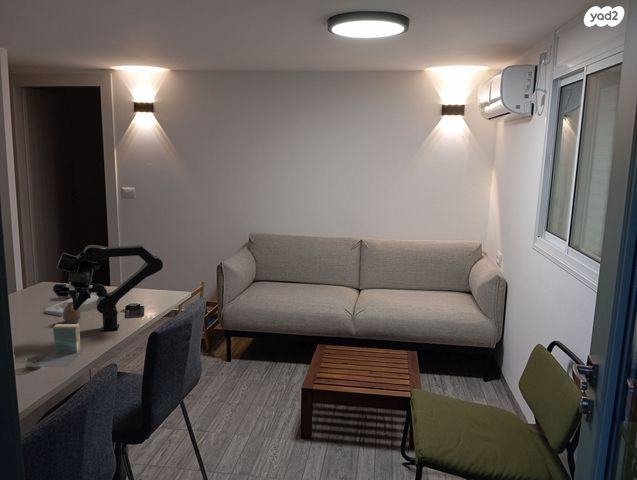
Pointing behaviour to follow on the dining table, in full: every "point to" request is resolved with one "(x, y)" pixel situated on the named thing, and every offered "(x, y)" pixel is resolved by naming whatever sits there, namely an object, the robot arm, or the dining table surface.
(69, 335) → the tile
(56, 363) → the mat
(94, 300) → the ramp
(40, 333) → the dining table surface
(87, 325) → the dining table surface
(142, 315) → the phone
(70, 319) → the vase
